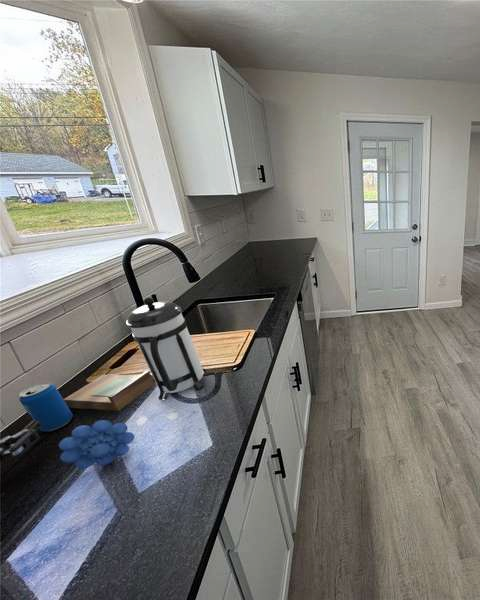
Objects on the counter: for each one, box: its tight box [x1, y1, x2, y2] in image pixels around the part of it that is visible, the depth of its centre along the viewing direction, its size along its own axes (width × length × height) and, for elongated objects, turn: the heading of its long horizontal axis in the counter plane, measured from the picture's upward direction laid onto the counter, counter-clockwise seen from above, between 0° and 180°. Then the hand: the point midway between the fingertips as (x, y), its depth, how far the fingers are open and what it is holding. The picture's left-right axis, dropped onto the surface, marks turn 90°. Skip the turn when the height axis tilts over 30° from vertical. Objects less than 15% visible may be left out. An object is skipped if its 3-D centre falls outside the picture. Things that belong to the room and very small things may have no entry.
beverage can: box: [18, 381, 74, 432], centre depth 83 cm, size 6×6×12 cm
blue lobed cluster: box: [58, 419, 135, 469], centre depth 70 cm, size 12×7×12 cm, turn 138°
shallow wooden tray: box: [63, 370, 156, 412], centre depth 95 cm, size 18×12×5 cm, turn 81°
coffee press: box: [125, 297, 206, 402], centre depth 91 cm, size 17×16×30 cm
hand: (15, 427), depth 74 cm, fingers open, 8 cm apart
